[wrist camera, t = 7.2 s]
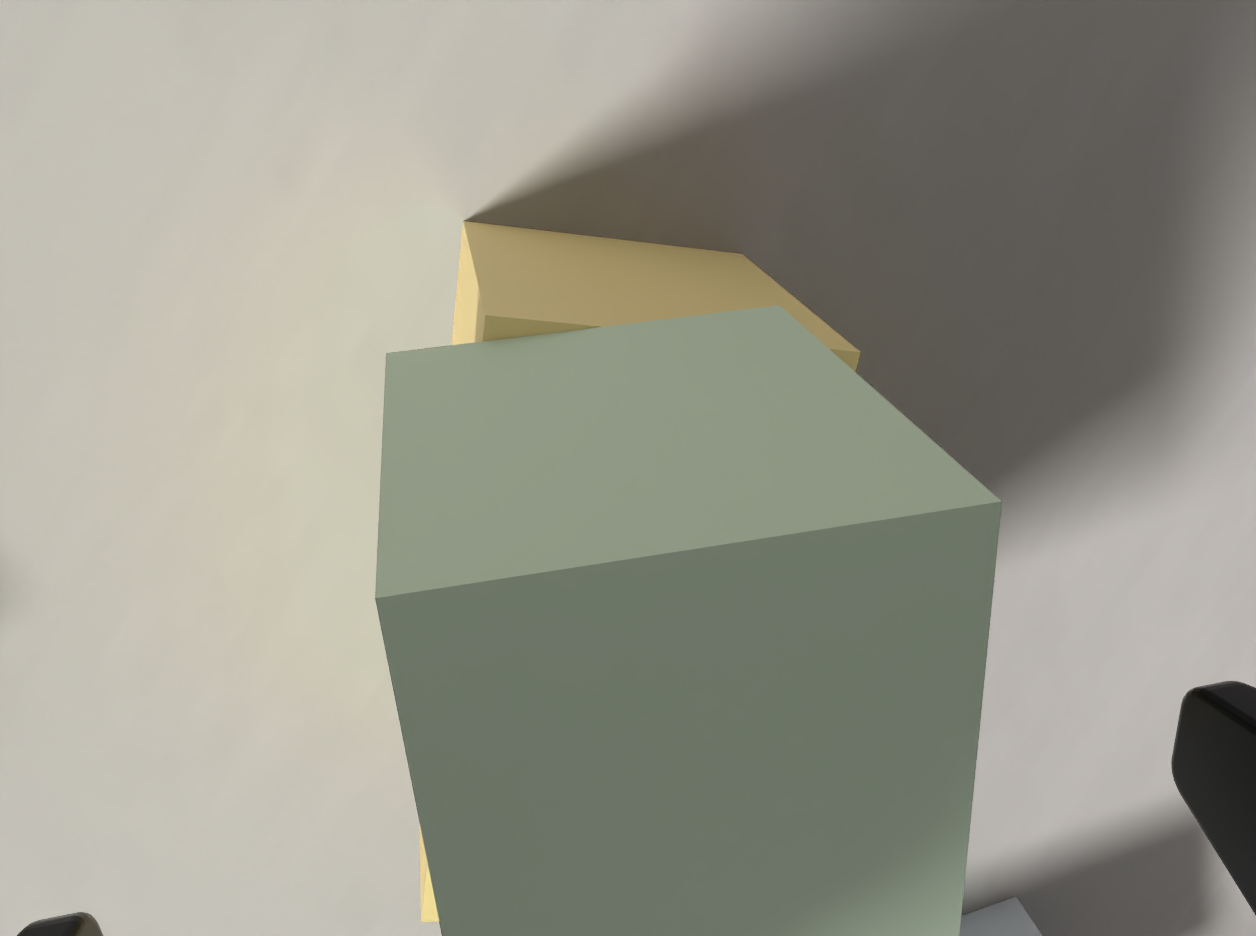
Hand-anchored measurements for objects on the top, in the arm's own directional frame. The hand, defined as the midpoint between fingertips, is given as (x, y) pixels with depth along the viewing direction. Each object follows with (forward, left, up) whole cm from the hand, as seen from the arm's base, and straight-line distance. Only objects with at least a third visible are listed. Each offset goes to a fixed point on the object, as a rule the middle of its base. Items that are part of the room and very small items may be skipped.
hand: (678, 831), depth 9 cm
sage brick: (0, 0, -2) cm, 3 cm away
